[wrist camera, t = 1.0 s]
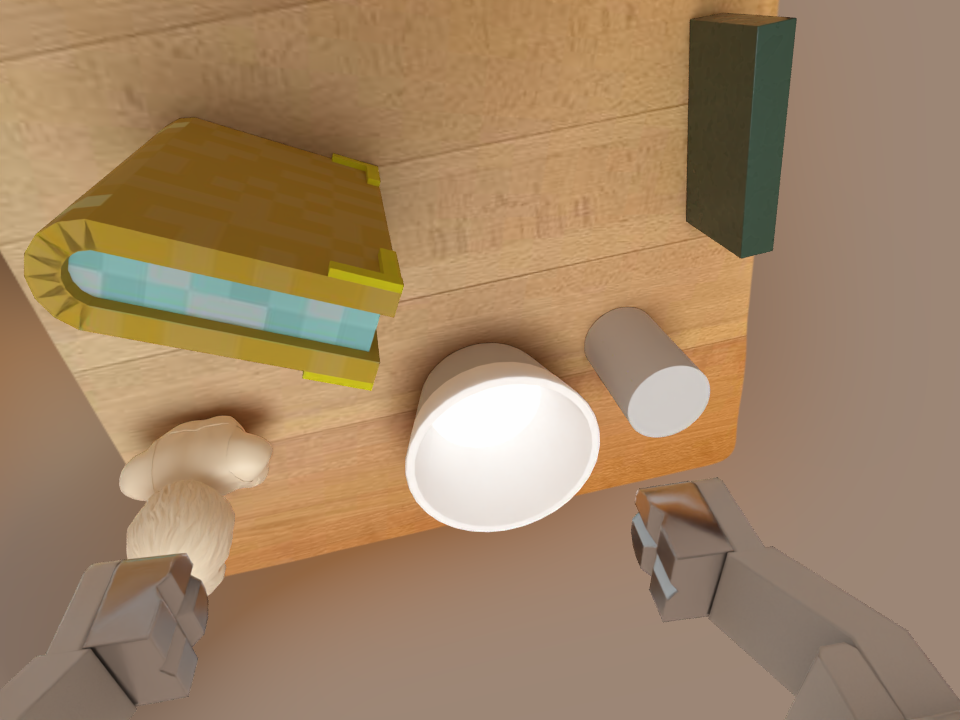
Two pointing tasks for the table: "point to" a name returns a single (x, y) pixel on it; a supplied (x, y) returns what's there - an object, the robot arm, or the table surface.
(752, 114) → the dark green rectangular block
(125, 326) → the book
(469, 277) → the table surface
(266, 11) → the table surface
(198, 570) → the figurine
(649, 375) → the gray cylinder
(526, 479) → the bowl
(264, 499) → the table surface
